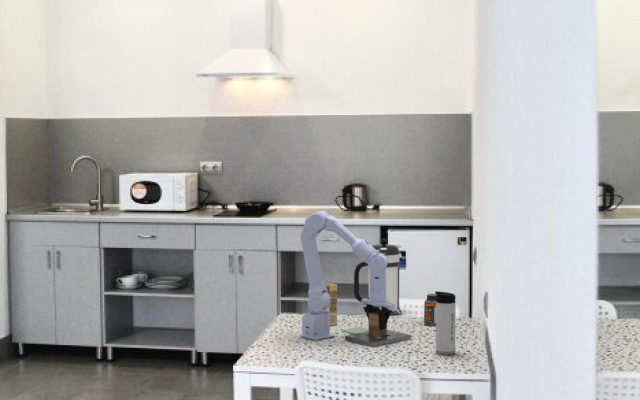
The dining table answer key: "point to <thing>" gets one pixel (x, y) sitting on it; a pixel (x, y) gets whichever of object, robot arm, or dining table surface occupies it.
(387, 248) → the coffee press
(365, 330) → the pad
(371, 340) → the grey plate with hole
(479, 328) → the dining table surface
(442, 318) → the travel mug
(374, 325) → the plug
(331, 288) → the candy box
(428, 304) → the supplement bottle
